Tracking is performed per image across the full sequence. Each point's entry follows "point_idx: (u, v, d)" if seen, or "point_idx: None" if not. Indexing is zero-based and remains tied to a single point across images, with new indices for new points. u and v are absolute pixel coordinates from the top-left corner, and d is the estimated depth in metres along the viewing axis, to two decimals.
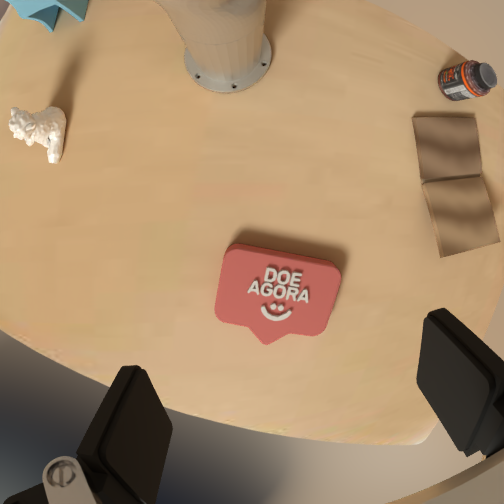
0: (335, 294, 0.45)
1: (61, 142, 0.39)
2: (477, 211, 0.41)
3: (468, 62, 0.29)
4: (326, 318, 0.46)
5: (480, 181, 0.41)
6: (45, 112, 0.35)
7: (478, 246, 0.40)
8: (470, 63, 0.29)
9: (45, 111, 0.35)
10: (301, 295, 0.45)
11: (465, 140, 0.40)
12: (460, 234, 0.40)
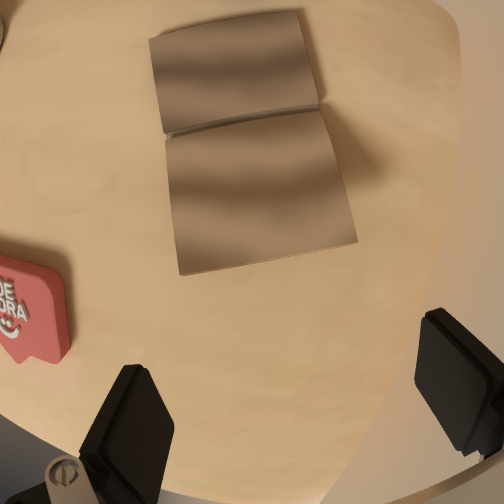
0: (53, 314, 0.28)
1: None
2: (290, 178, 0.24)
3: None
4: (55, 344, 0.29)
5: (311, 120, 0.24)
6: None
7: (282, 253, 0.23)
8: None
9: None
10: (18, 311, 0.27)
11: (267, 49, 0.23)
12: (230, 229, 0.23)
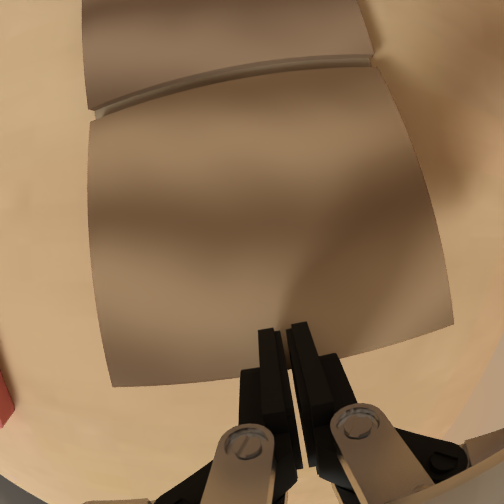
0: None
1: None
2: (333, 192, 0.11)
3: None
4: None
5: (364, 81, 0.11)
6: None
7: None
8: None
9: None
10: None
11: None
12: (203, 306, 0.11)
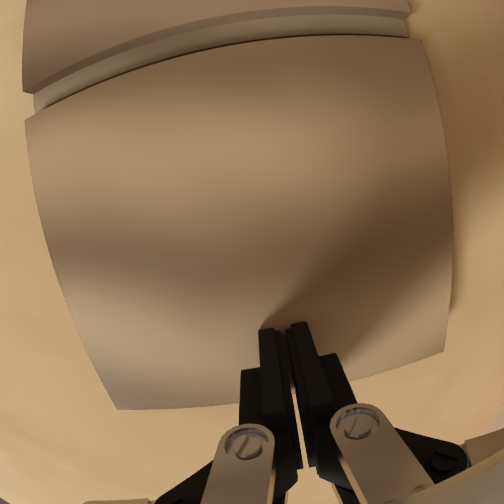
0: None
1: None
2: (346, 226, 0.09)
3: None
4: None
5: (403, 61, 0.07)
6: None
7: None
8: None
9: None
10: None
11: None
12: (197, 349, 0.10)
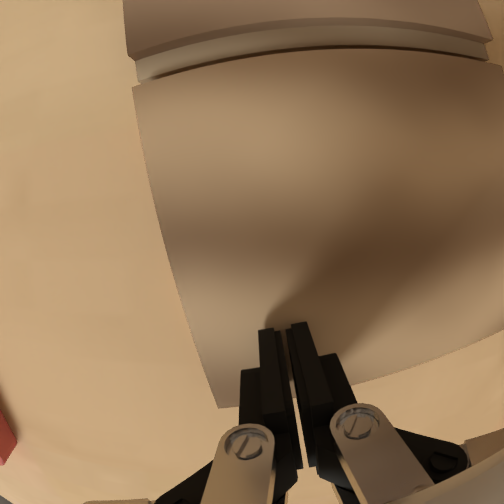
0: None
1: None
2: (455, 219, 0.09)
3: None
4: None
5: (491, 83, 0.07)
6: None
7: (409, 364, 0.11)
8: None
9: None
10: None
11: None
12: (325, 335, 0.10)
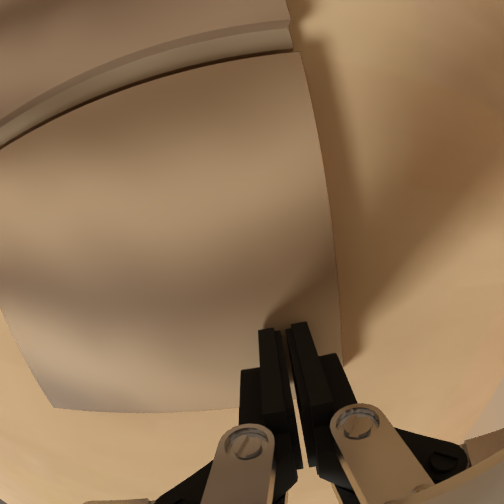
0: None
1: None
2: (201, 269, 0.09)
3: None
4: None
5: (269, 83, 0.08)
6: None
7: (194, 407, 0.11)
8: None
9: None
10: None
11: None
12: (96, 365, 0.10)
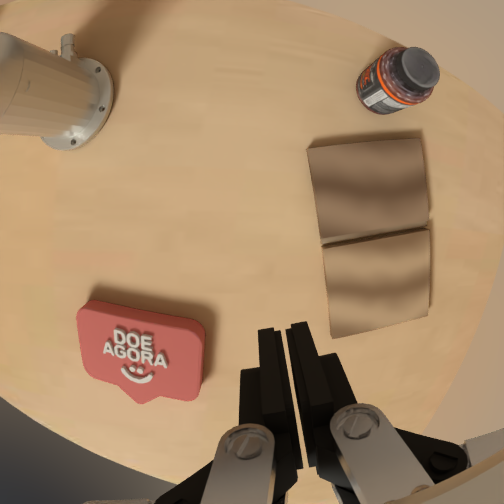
0: (199, 360, 0.36)
1: None
2: (403, 281, 0.35)
3: (388, 51, 0.21)
4: (196, 384, 0.37)
5: (422, 238, 0.33)
6: None
7: (389, 324, 0.36)
8: (390, 52, 0.21)
9: None
10: (157, 360, 0.36)
11: (400, 174, 0.31)
12: (365, 313, 0.36)
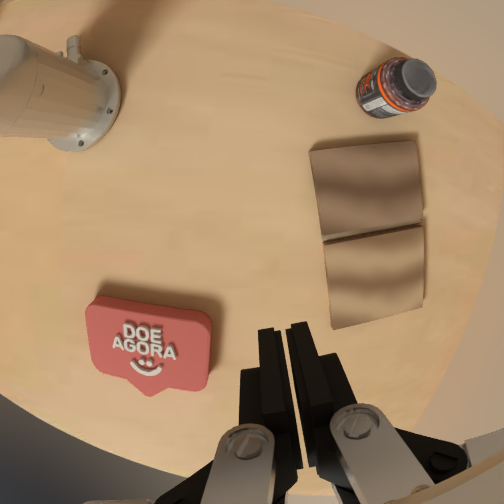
0: (207, 350, 0.38)
1: None
2: (398, 275, 0.37)
3: (389, 61, 0.23)
4: (204, 375, 0.39)
5: (417, 234, 0.36)
6: None
7: (386, 315, 0.39)
8: (391, 63, 0.23)
9: None
10: (166, 352, 0.38)
11: (396, 175, 0.33)
12: (363, 305, 0.38)
